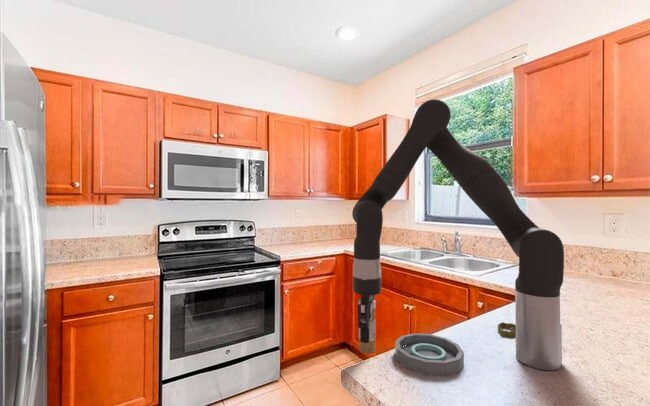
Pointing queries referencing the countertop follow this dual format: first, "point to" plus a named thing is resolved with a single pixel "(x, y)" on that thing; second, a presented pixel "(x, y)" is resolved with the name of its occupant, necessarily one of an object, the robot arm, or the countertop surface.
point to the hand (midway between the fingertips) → (367, 336)
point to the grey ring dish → (429, 354)
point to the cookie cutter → (508, 326)
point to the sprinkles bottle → (370, 345)
